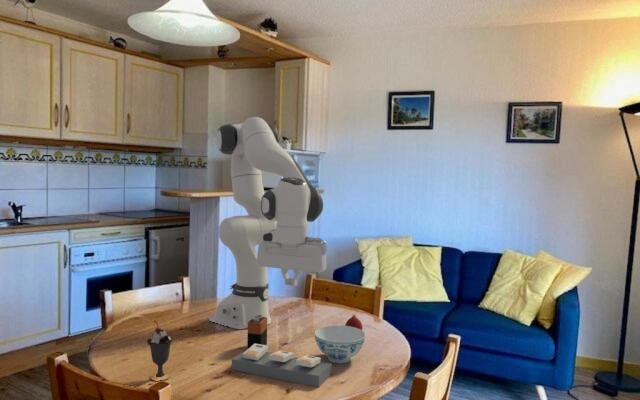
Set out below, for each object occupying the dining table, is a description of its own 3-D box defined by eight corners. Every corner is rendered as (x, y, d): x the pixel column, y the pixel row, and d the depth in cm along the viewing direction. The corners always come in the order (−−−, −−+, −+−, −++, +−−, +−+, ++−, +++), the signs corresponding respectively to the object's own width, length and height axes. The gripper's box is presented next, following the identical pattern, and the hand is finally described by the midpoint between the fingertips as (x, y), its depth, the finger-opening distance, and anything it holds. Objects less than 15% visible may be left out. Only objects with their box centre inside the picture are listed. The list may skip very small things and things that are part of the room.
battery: (246, 351, 149) (247, 319, 148) (254, 343, 155) (254, 312, 155) (260, 352, 148) (261, 320, 147) (267, 345, 155) (267, 314, 154)
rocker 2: (268, 361, 132) (269, 354, 132) (279, 356, 138) (280, 349, 138) (283, 364, 130) (283, 357, 130) (293, 359, 136) (294, 352, 136)
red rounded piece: (361, 342, 159) (361, 317, 159) (343, 340, 161) (344, 316, 160) (363, 336, 165) (363, 312, 165) (346, 334, 166) (346, 311, 166)
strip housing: (231, 369, 135) (231, 359, 135) (248, 358, 143) (248, 348, 143) (318, 387, 125) (319, 375, 125) (331, 374, 133) (331, 363, 133)
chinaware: (329, 346, 155) (330, 322, 154) (373, 356, 147) (373, 331, 147) (304, 361, 142) (304, 335, 141) (350, 373, 134) (351, 345, 134)
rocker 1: (243, 359, 135) (242, 353, 135) (255, 348, 141) (254, 342, 140) (257, 362, 133) (256, 355, 133) (268, 351, 139) (268, 345, 139)
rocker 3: (295, 366, 129) (296, 359, 129) (305, 361, 134) (306, 354, 135) (311, 369, 127) (311, 362, 127) (320, 364, 133) (320, 357, 133)
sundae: (150, 372, 132) (150, 317, 131) (175, 372, 132) (176, 317, 131) (143, 383, 125) (143, 325, 124) (170, 382, 126) (170, 325, 125)
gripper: (330, 237, 136) (329, 286, 136) (265, 232, 143) (264, 279, 144) (322, 240, 130) (320, 291, 131) (254, 234, 138) (254, 283, 138)
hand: (290, 284), depth 137 cm, fingers closed
